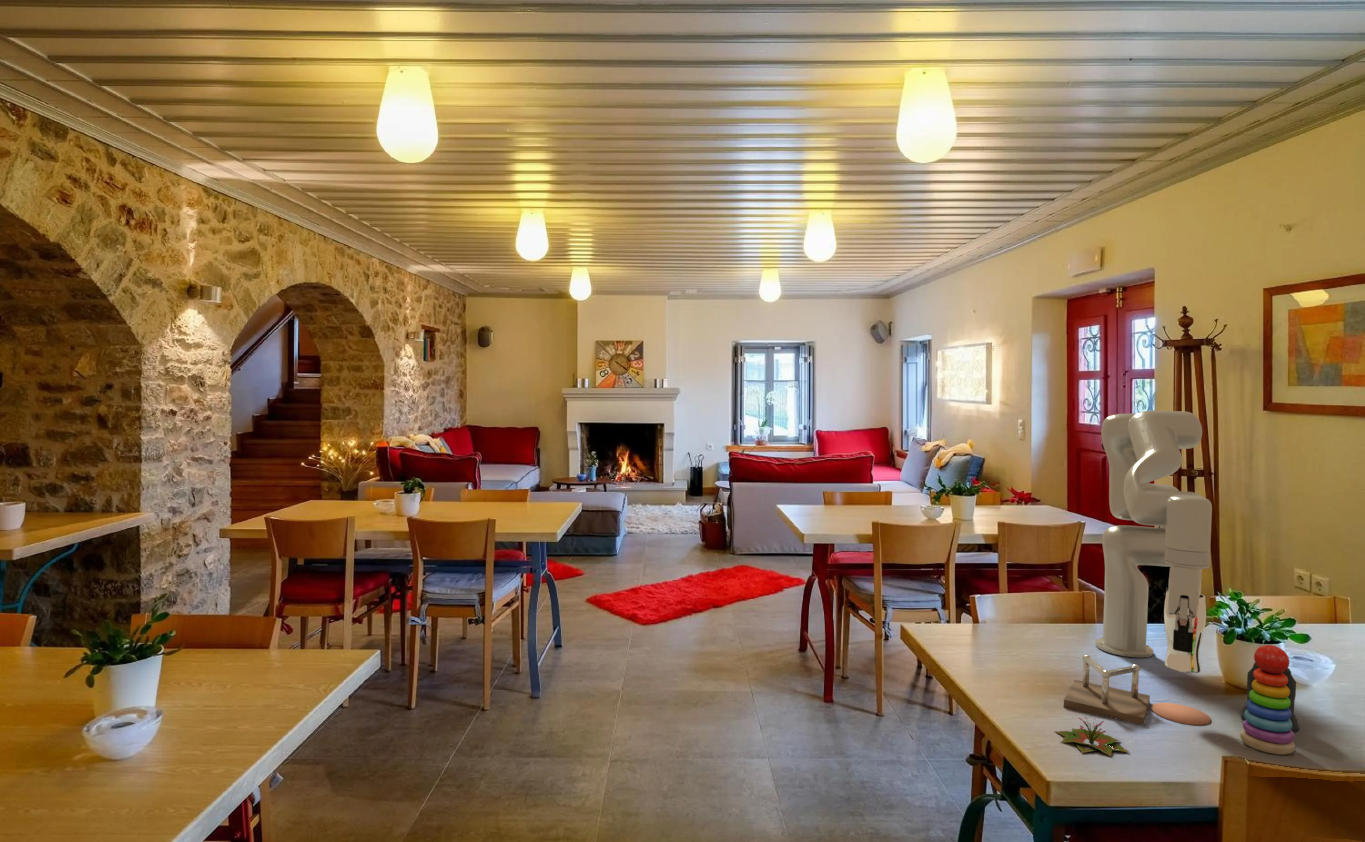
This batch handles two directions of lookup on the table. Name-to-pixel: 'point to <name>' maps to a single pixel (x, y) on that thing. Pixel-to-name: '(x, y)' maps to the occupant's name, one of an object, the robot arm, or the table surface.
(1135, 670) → the bent wire
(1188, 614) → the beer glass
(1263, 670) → the stacking toy
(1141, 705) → the board
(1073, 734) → the lily flower
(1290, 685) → the mug
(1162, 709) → the pad
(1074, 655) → the table surface
